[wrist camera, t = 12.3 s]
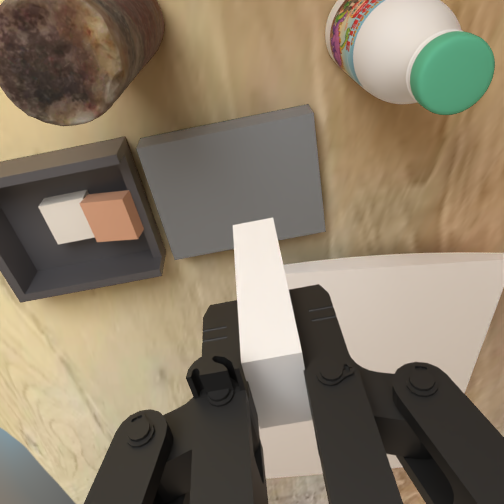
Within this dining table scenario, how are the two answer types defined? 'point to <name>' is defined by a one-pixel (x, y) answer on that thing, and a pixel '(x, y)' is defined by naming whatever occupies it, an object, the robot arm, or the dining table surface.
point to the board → (395, 326)
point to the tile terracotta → (112, 216)
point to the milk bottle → (410, 53)
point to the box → (78, 252)
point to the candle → (74, 54)
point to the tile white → (66, 217)
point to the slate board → (235, 179)
